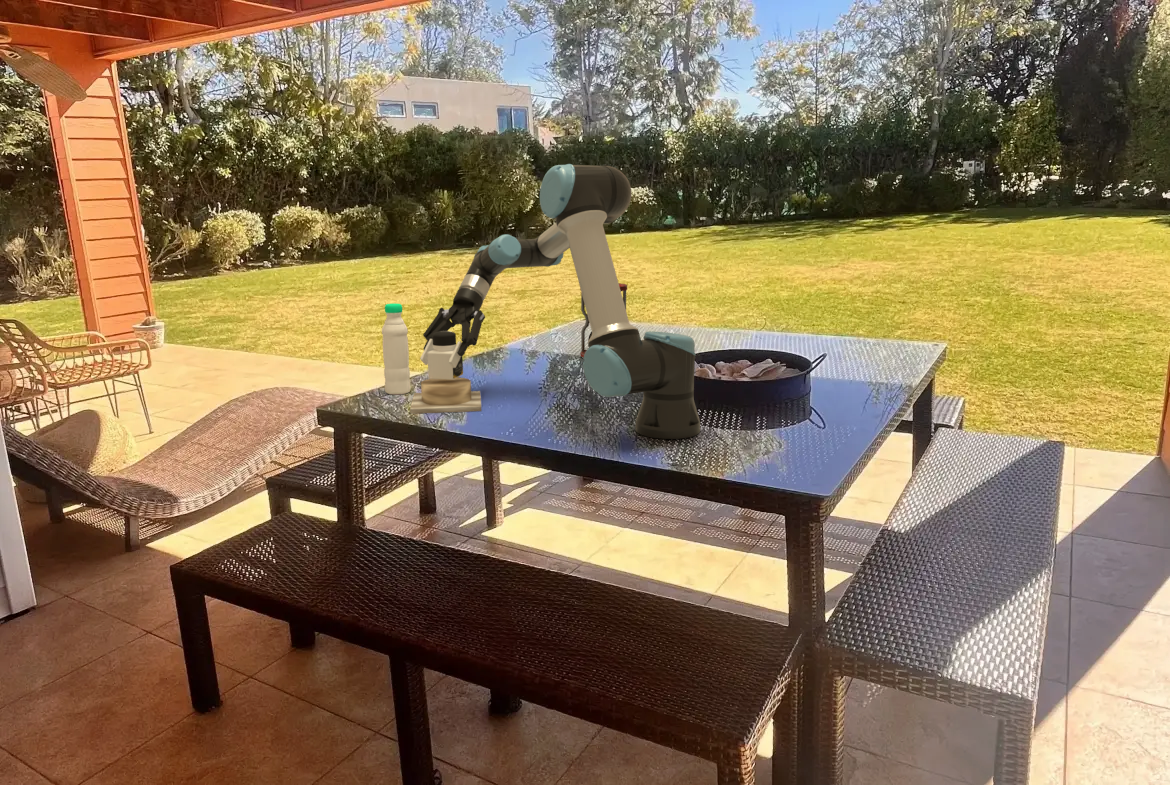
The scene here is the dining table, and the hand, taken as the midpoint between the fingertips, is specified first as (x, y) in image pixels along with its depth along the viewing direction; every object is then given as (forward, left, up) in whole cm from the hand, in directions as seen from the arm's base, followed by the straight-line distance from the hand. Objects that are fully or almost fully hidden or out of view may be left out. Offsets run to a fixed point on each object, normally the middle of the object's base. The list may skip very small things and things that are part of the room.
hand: (437, 363), depth 215 cm
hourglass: (+64, -54, -12) cm, 84 cm away
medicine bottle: (+3, -2, -4) cm, 6 cm away
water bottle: (+19, +12, -12) cm, 25 cm away
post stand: (+3, -2, -12) cm, 12 cm away
